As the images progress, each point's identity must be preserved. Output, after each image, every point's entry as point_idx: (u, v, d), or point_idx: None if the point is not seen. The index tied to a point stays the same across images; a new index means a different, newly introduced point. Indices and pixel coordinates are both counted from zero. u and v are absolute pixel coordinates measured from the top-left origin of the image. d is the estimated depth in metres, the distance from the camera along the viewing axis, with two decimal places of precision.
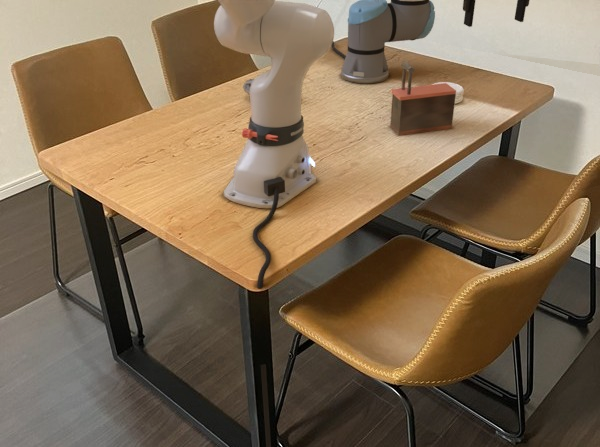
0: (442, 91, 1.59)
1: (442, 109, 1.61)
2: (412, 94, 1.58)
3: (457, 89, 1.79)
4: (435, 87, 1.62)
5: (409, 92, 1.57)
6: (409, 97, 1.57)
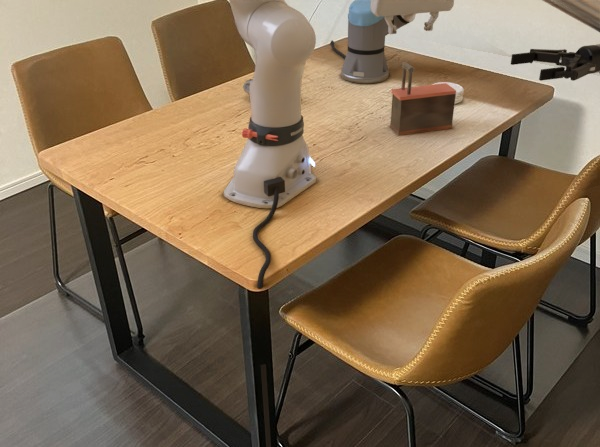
0: (442, 91, 1.59)
1: (442, 109, 1.61)
2: (412, 94, 1.58)
3: (457, 89, 1.79)
4: (435, 87, 1.62)
5: (409, 92, 1.57)
6: (409, 97, 1.57)
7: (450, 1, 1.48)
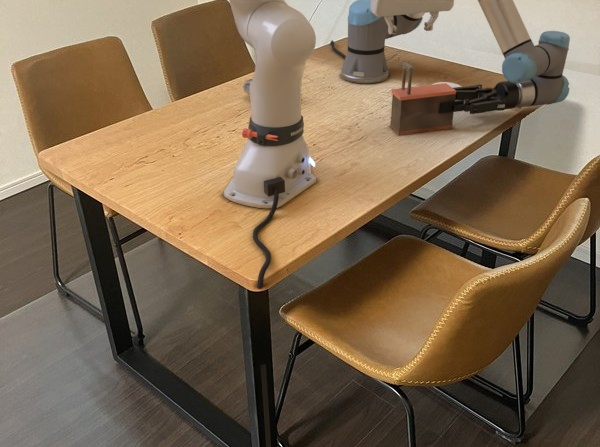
0: (442, 91, 1.59)
1: None
2: (412, 94, 1.57)
3: None
4: (435, 87, 1.62)
5: (409, 92, 1.57)
6: (409, 97, 1.57)
7: (450, 1, 1.48)
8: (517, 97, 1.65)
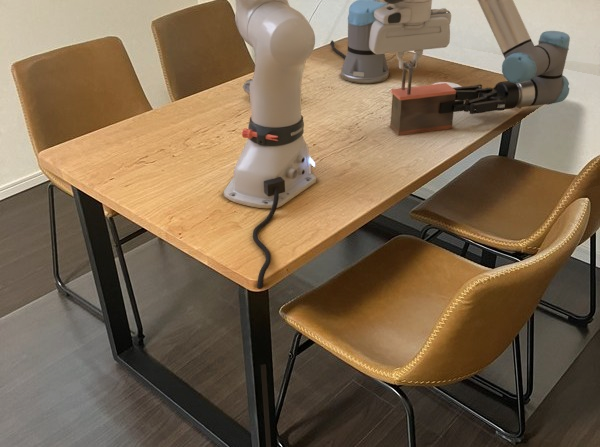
0: (442, 91, 1.59)
1: None
2: (412, 94, 1.57)
3: None
4: (435, 87, 1.62)
5: (409, 92, 1.57)
6: (409, 97, 1.57)
7: (446, 38, 1.52)
8: (517, 97, 1.65)
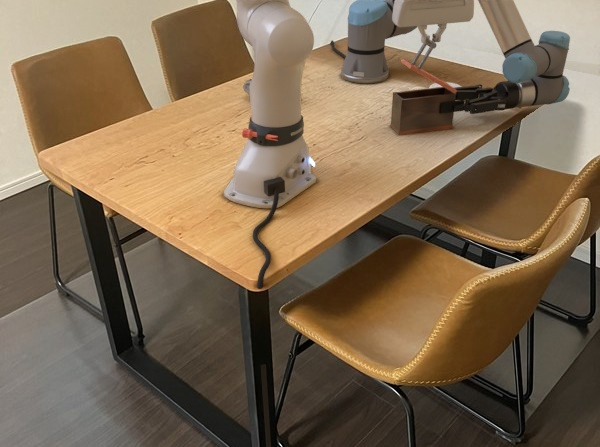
0: (446, 84, 1.58)
1: None
2: (421, 70, 1.55)
3: None
4: (439, 79, 1.61)
5: (420, 66, 1.54)
6: (418, 71, 1.54)
7: (470, 12, 1.51)
8: (517, 97, 1.65)
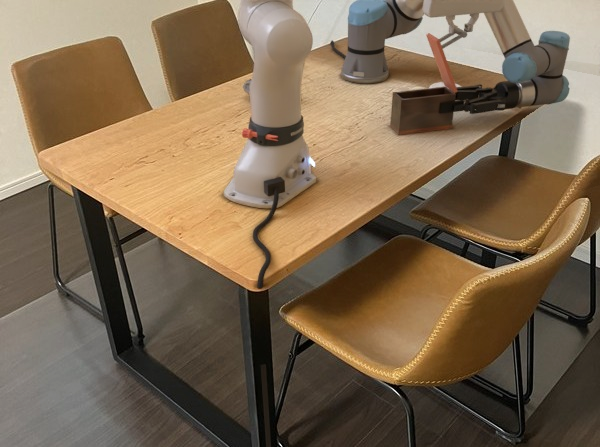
0: None
1: None
2: None
3: None
4: None
5: (443, 47, 1.53)
6: (441, 49, 1.52)
7: (500, 2, 1.51)
8: (517, 97, 1.65)
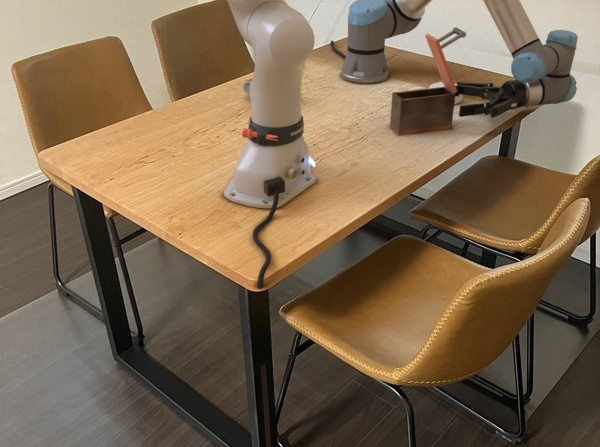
0: None
1: (442, 109, 1.61)
2: None
3: None
4: None
5: (442, 47, 1.53)
6: (440, 49, 1.52)
7: None
8: (524, 96, 1.64)
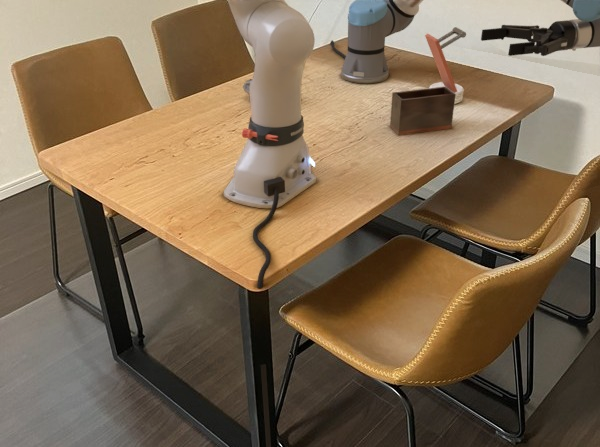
0: None
1: (442, 109, 1.61)
2: None
3: (457, 89, 1.79)
4: None
5: (442, 47, 1.53)
6: (440, 49, 1.52)
7: None
8: (574, 36, 1.59)
